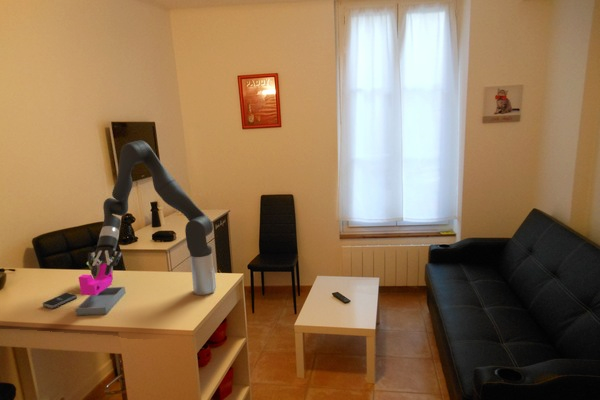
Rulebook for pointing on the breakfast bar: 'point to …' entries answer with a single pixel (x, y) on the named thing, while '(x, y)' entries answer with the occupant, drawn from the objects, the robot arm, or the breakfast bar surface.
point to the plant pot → (99, 267)
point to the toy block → (95, 282)
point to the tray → (100, 302)
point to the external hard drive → (59, 300)
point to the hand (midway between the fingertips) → (100, 275)
